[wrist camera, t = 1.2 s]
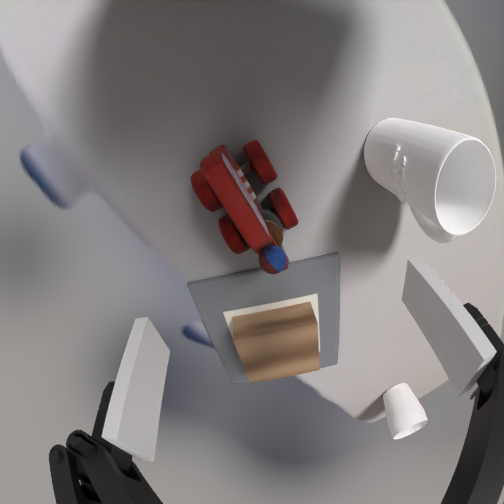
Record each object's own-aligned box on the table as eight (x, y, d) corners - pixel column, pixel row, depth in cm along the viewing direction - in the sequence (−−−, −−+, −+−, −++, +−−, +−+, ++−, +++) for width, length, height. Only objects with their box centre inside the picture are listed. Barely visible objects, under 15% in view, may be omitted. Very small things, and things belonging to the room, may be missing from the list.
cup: (407, 391, 54) (422, 428, 43) (375, 404, 55) (389, 443, 44) (414, 374, 49) (433, 415, 39) (380, 388, 50) (396, 431, 40)
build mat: (188, 282, 32) (187, 285, 31) (337, 252, 31) (339, 255, 30) (232, 381, 43) (232, 384, 42) (336, 361, 42) (337, 364, 41)
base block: (232, 316, 34) (233, 339, 31) (310, 301, 34) (317, 323, 30) (248, 361, 39) (250, 382, 36) (313, 349, 39) (319, 369, 35)
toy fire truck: (244, 255, 31) (250, 321, 22) (185, 158, 25) (157, 189, 16) (301, 228, 29) (330, 286, 20) (249, 123, 23) (258, 133, 14)
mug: (378, 227, 30) (434, 288, 19) (351, 130, 24) (422, 154, 14) (430, 202, 28) (493, 250, 18) (411, 110, 23) (492, 127, 12)
